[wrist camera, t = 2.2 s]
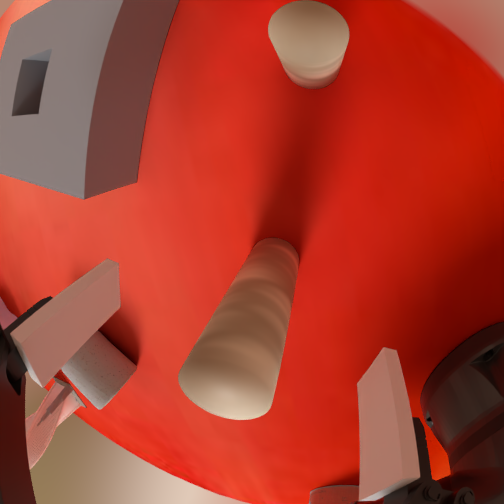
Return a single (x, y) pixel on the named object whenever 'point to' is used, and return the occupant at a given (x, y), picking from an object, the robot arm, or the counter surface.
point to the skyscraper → (49, 418)
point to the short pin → (309, 42)
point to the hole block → (79, 92)
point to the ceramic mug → (99, 370)
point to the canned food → (334, 494)
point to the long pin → (245, 337)
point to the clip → (5, 315)
